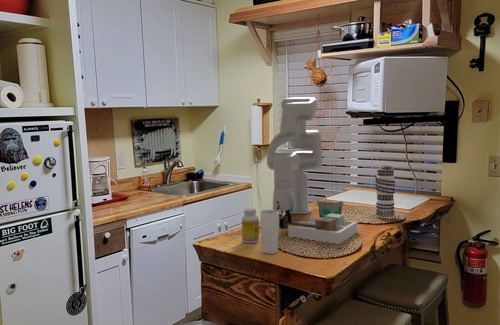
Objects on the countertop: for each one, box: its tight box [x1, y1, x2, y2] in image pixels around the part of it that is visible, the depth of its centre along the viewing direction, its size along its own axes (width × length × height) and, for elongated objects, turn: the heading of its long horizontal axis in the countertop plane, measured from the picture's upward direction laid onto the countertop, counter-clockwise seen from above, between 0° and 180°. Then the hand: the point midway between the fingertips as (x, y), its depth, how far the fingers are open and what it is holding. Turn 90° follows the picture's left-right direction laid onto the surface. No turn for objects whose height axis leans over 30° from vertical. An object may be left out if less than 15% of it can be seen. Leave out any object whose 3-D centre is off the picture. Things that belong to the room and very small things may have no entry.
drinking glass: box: [259, 209, 280, 255], centre depth 151 cm, size 7×7×15 cm
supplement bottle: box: [241, 208, 260, 244], centre depth 165 cm, size 7×7×13 cm
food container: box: [316, 200, 344, 218], centre depth 192 cm, size 12×6×10 cm, turn 70°
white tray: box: [287, 216, 359, 245], centre depth 173 cm, size 22×20×4 cm
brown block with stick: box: [279, 215, 336, 232], centre depth 172 cm, size 24×6×6 cm, turn 56°
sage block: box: [325, 213, 345, 226], centre depth 175 cm, size 6×6×6 cm
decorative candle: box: [374, 164, 396, 218], centre depth 200 cm, size 9×9×25 cm
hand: (284, 225), depth 178 cm, fingers open, 6 cm apart
